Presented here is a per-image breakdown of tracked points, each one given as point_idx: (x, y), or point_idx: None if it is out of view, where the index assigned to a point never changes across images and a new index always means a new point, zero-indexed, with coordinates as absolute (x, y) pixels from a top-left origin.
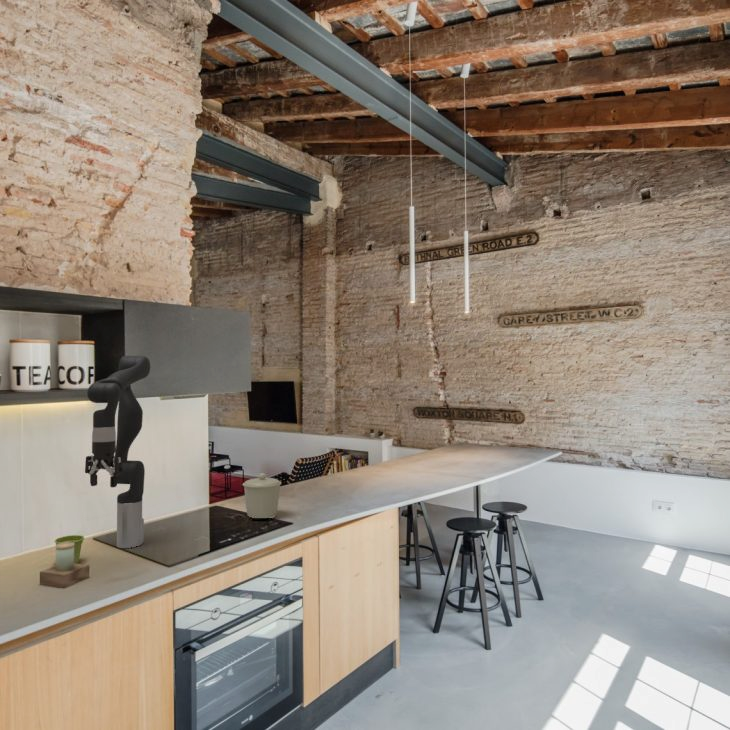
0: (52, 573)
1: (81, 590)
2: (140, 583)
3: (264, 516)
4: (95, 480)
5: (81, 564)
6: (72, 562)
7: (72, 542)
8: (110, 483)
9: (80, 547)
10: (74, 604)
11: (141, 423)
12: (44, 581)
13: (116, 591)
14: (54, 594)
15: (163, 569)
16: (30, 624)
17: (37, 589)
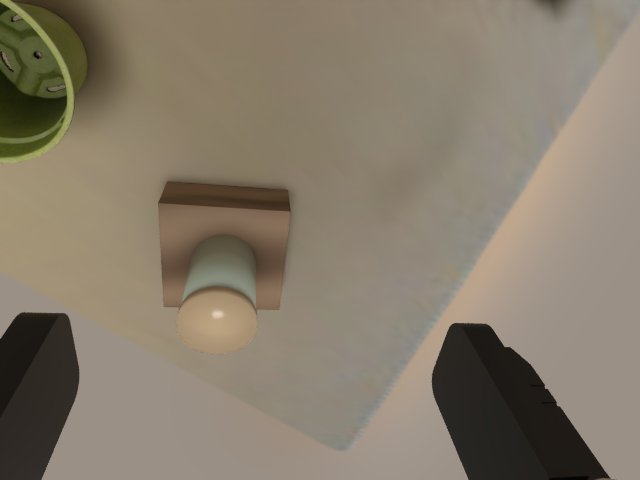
0: None
1: (344, 283)
2: (501, 198)
3: None
4: (33, 411)
5: (252, 212)
6: (255, 270)
7: (227, 299)
8: (452, 433)
9: (61, 46)
10: (389, 349)
11: None
12: None
13: (454, 265)
14: (287, 320)
15: (539, 46)
16: (362, 428)
17: None
